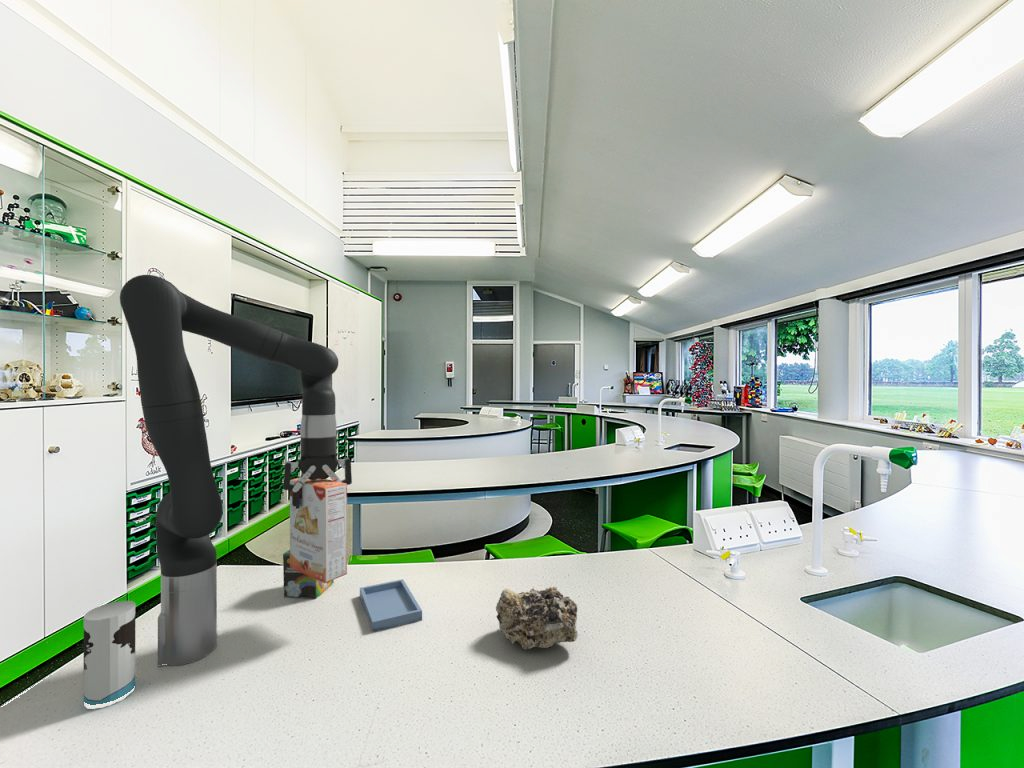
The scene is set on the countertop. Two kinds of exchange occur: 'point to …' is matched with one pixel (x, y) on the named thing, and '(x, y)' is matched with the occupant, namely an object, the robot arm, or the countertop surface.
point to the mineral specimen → (537, 617)
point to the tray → (389, 605)
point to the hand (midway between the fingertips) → (318, 505)
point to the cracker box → (319, 530)
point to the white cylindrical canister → (109, 652)
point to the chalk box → (300, 582)
